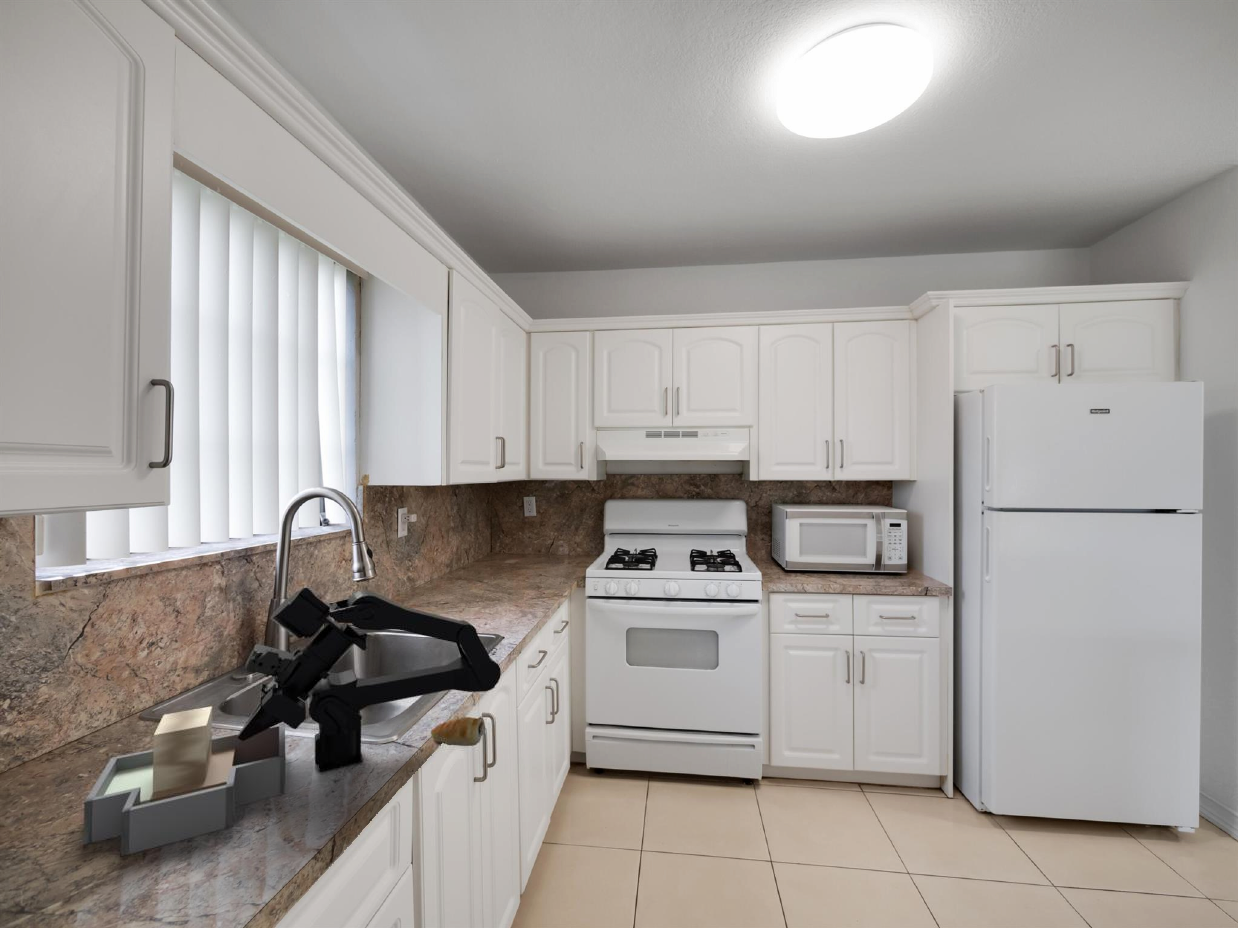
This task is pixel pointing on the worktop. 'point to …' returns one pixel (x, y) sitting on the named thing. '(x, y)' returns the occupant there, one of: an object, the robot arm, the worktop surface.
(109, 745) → the worktop surface
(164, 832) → the box
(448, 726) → the pastry
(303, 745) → the worktop surface
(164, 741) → the block
